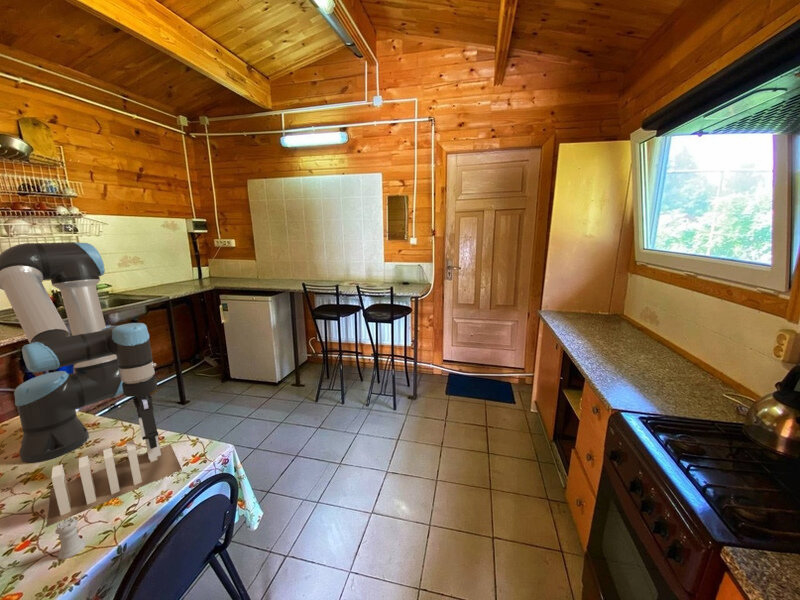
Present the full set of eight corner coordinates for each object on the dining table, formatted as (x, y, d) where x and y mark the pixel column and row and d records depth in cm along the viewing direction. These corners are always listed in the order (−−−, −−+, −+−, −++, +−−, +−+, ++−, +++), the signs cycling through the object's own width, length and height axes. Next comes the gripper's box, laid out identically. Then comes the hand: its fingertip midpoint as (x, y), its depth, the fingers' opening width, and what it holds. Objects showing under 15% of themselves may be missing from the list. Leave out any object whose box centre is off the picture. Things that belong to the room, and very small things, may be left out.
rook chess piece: (69, 567, 66) (61, 534, 64) (52, 563, 66) (43, 530, 65) (93, 547, 70) (86, 515, 68) (77, 543, 71) (70, 512, 69)
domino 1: (60, 515, 76) (51, 478, 74) (61, 503, 80) (52, 467, 78) (70, 511, 77) (61, 474, 75) (70, 499, 81) (62, 464, 79)
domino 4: (134, 485, 85) (127, 451, 84) (132, 475, 89) (125, 442, 87) (141, 481, 87) (135, 448, 85) (139, 472, 90) (133, 439, 88)
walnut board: (47, 532, 74) (46, 526, 73) (51, 493, 85) (50, 488, 85) (182, 474, 91) (182, 469, 91) (171, 448, 103) (170, 444, 102)
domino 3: (111, 494, 82) (104, 459, 80) (110, 484, 86) (103, 450, 84) (119, 491, 83) (112, 456, 82) (118, 481, 87) (111, 447, 85)
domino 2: (87, 504, 79) (78, 468, 77) (86, 493, 83) (78, 458, 81) (96, 501, 80) (88, 465, 78) (95, 490, 84) (87, 455, 82)
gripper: (163, 387, 85) (175, 459, 89) (148, 363, 103) (159, 424, 107) (126, 397, 80) (140, 473, 84) (117, 370, 98) (130, 434, 102)
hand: (151, 446), depth 96 cm, fingers open, 13 cm apart
